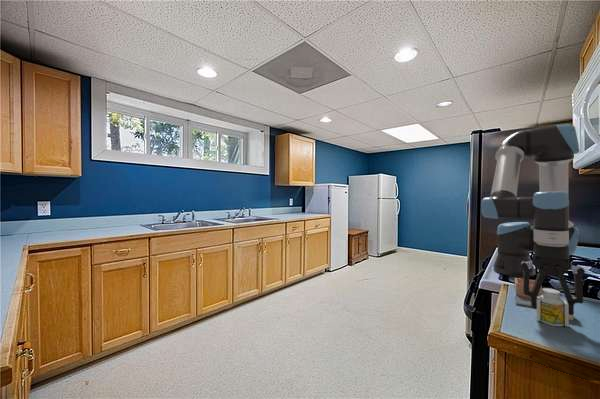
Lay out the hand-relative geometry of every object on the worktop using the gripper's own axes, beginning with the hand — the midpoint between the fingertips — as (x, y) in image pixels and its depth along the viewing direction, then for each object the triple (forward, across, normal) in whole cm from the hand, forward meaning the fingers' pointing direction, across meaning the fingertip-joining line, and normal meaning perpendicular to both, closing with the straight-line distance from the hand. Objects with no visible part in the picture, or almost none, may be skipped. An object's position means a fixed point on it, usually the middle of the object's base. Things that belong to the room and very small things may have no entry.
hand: (551, 321), depth 78 cm
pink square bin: (0, -4, +21) cm, 21 cm away
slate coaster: (0, -4, +13) cm, 14 cm away
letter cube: (0, +4, +7) cm, 8 cm away
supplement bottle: (+1, 0, 0) cm, 1 cm away
